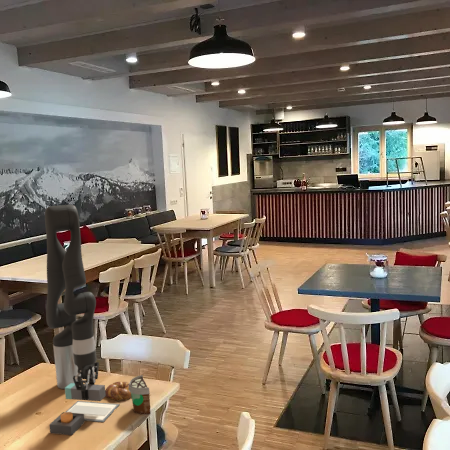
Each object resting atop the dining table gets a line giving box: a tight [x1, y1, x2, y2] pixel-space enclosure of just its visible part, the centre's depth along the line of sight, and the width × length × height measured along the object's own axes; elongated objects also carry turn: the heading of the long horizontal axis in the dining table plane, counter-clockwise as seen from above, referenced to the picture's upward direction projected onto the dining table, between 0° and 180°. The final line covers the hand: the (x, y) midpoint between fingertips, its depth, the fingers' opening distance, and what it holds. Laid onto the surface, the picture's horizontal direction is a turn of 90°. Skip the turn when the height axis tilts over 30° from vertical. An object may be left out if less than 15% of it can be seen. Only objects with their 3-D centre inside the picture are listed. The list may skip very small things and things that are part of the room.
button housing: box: [48, 411, 86, 436], centre depth 162 cm, size 8×8×3 cm
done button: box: [61, 411, 73, 423], centre depth 162 cm, size 4×4×2 cm
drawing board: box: [65, 400, 120, 423], centre depth 172 cm, size 12×17×1 cm
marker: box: [64, 383, 106, 402], centre depth 171 cm, size 13×4×4 cm, turn 76°
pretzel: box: [105, 381, 132, 401], centre depth 184 cm, size 12×11×4 cm
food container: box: [128, 374, 151, 415], centre depth 171 cm, size 12×6×10 cm, turn 21°
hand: (88, 396), depth 171 cm, fingers closed on marker, 4 cm apart
